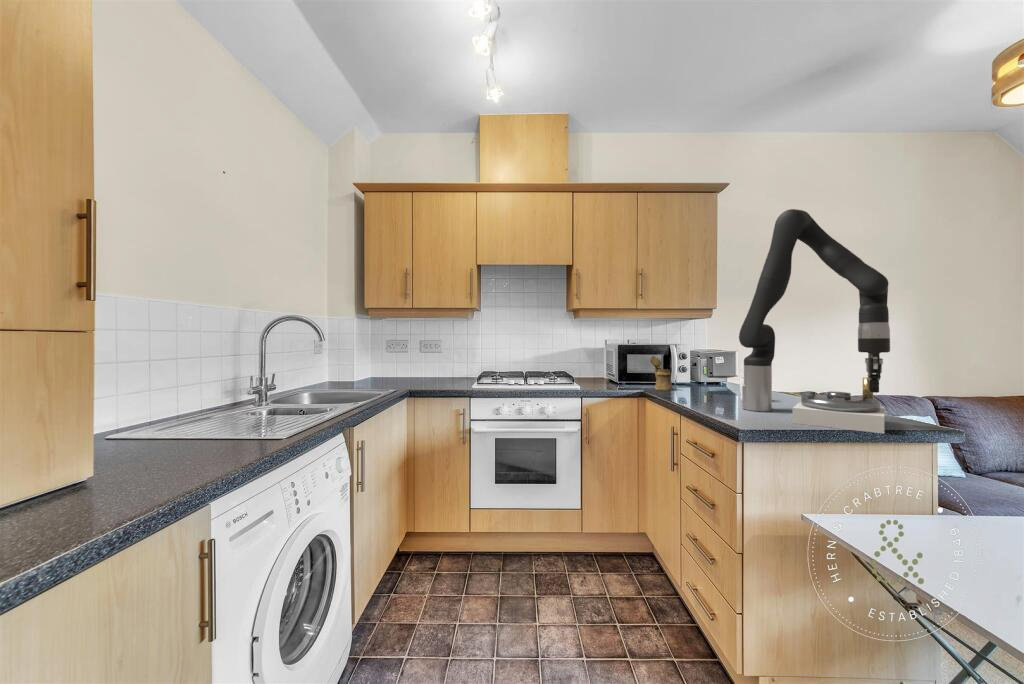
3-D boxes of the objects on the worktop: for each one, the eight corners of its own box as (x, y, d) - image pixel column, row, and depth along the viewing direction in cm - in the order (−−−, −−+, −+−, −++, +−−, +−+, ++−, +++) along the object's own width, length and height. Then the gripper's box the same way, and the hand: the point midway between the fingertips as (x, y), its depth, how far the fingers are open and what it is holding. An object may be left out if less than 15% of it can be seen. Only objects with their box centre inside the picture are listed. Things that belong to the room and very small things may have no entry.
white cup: (762, 402, 173) (762, 379, 173) (743, 401, 175) (743, 378, 174) (755, 399, 181) (755, 377, 181) (736, 398, 182) (736, 377, 182)
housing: (792, 423, 131) (792, 407, 130) (802, 413, 147) (802, 399, 147) (884, 433, 115) (884, 416, 115) (884, 421, 132) (884, 406, 131)
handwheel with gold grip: (823, 411, 123) (823, 380, 123) (789, 401, 142) (789, 374, 142) (897, 412, 119) (897, 381, 119) (852, 402, 139) (852, 375, 139)
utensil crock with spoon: (659, 387, 225) (659, 355, 225) (676, 390, 212) (676, 356, 212) (646, 388, 222) (646, 356, 222) (662, 391, 209) (662, 357, 209)
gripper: (892, 336, 118) (893, 395, 118) (887, 337, 129) (888, 391, 128) (859, 337, 123) (859, 393, 123) (856, 337, 133) (857, 389, 133)
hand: (874, 392), depth 126 cm, fingers closed
